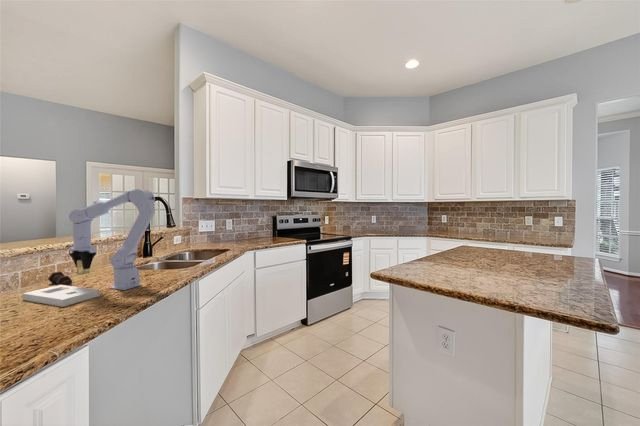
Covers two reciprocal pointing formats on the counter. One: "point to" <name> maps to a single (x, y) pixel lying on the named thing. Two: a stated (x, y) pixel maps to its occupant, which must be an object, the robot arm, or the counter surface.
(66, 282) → the bolt
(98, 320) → the counter surface
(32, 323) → the counter surface
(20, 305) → the counter surface
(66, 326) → the counter surface
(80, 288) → the fitting plate
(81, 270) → the brass cylinder
